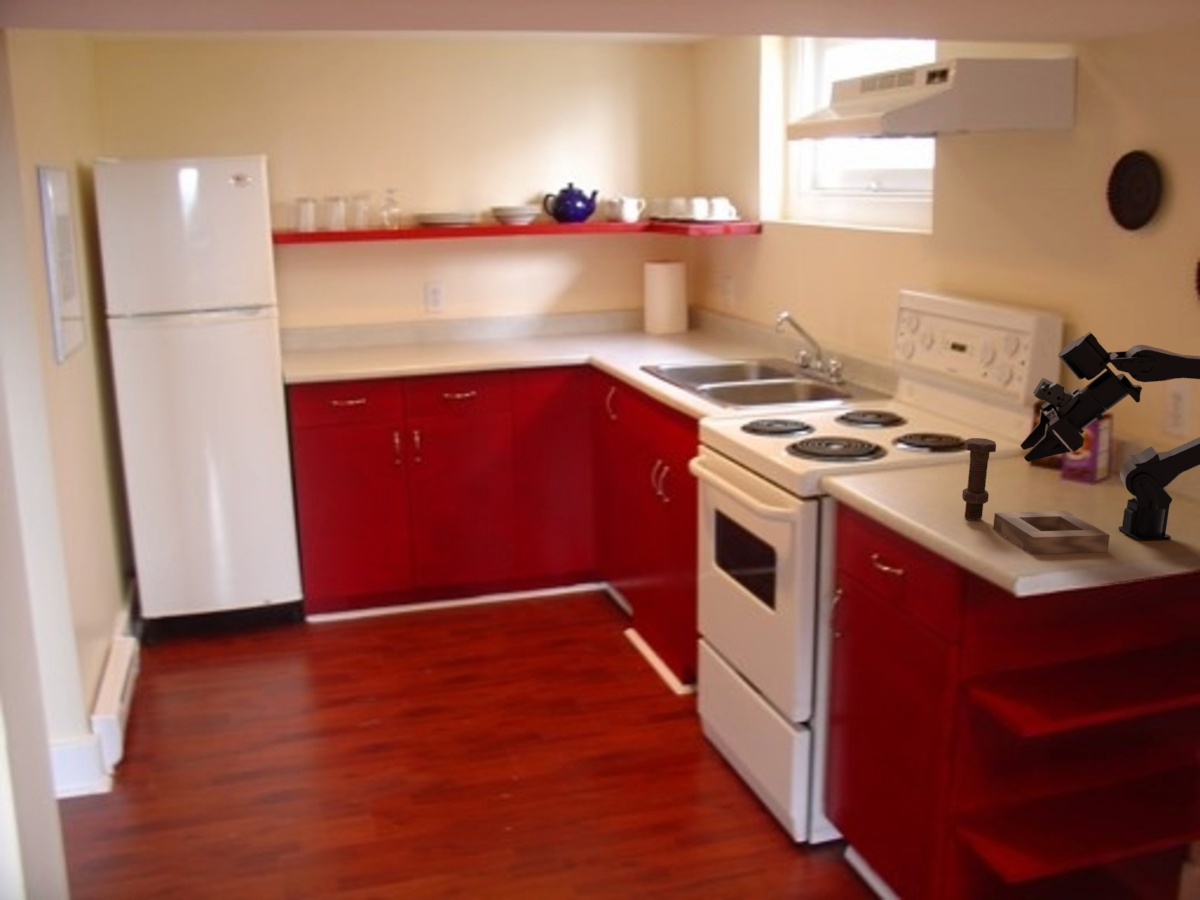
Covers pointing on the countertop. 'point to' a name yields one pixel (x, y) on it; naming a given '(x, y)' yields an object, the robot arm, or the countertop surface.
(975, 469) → the bolt
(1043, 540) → the jig
